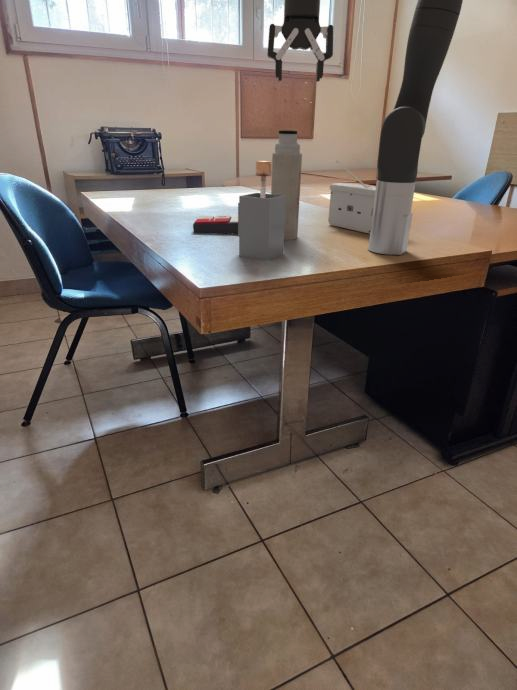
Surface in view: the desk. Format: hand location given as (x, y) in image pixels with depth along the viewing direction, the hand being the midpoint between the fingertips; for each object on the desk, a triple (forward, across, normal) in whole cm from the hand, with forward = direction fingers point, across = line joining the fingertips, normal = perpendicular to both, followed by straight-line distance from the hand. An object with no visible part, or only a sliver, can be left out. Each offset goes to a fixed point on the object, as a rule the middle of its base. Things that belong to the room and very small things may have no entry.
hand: (298, 81), depth 102 cm
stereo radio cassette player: (+38, -23, -28) cm, 53 cm away
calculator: (+38, +20, -23) cm, 49 cm away
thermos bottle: (+38, +1, -14) cm, 41 cm away
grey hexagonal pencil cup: (+38, +9, +6) cm, 40 cm away
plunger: (+36, +8, +7) cm, 38 cm away
